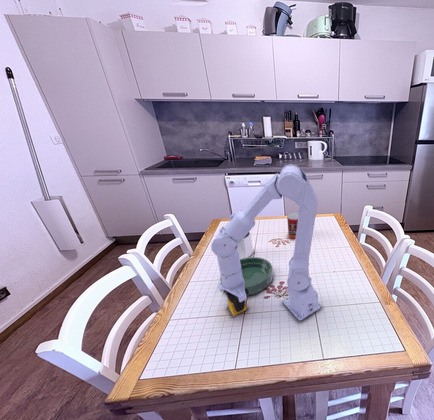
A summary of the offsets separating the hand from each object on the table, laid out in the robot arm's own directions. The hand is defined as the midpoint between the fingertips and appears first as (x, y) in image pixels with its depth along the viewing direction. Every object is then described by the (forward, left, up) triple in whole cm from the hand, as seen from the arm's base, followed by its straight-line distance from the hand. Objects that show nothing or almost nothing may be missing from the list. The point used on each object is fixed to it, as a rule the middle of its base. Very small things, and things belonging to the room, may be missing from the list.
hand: (237, 305), depth 73 cm
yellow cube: (0, 0, -1) cm, 1 cm away
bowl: (+11, -8, -1) cm, 14 cm away
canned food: (+28, -40, -1) cm, 49 cm away
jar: (+29, -13, -1) cm, 32 cm away
